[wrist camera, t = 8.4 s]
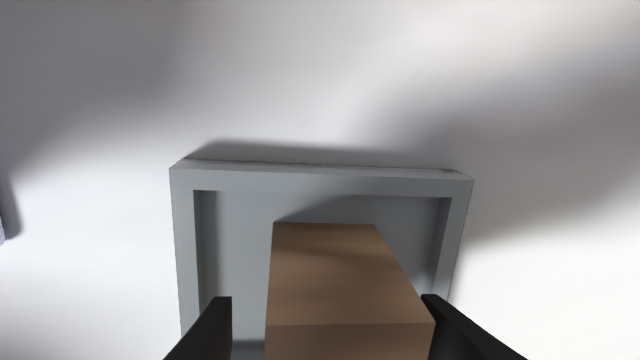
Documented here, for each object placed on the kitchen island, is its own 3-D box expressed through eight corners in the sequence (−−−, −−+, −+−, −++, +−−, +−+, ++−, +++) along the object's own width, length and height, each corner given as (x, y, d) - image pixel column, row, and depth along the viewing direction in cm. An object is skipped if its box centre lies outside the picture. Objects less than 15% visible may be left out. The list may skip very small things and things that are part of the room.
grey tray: (193, 350, 16) (184, 377, 14) (181, 158, 13) (169, 168, 11) (419, 343, 17) (431, 367, 16) (455, 169, 14) (474, 180, 13)
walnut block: (269, 308, 15) (261, 450, 9) (272, 221, 13) (265, 325, 8) (362, 307, 15) (408, 441, 10) (373, 224, 14) (435, 322, 8)
